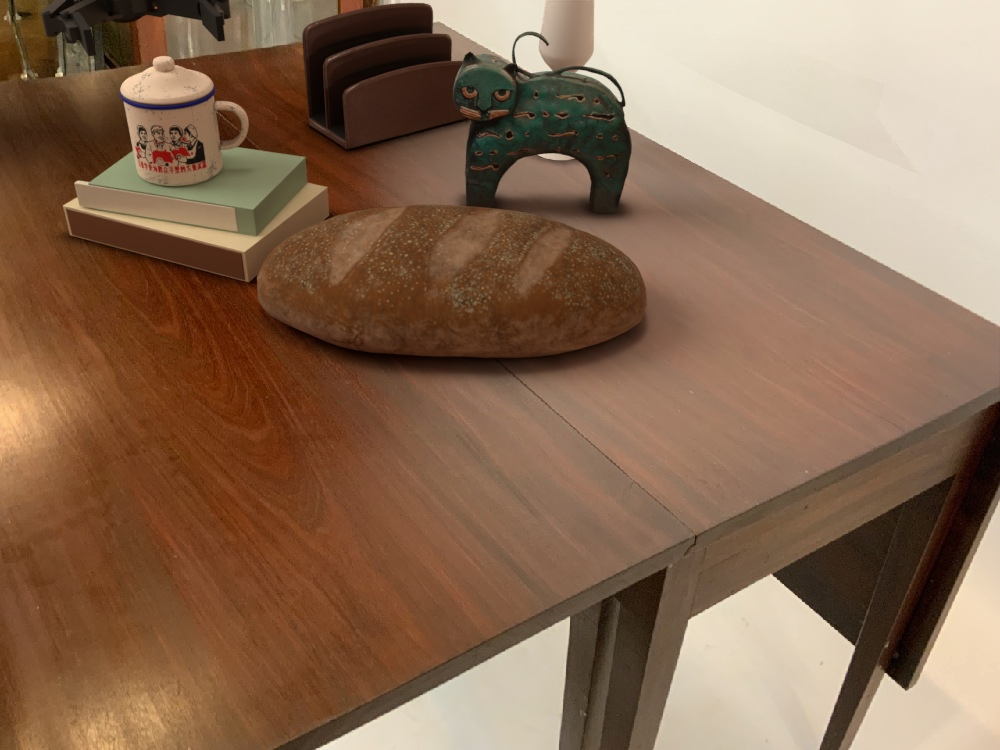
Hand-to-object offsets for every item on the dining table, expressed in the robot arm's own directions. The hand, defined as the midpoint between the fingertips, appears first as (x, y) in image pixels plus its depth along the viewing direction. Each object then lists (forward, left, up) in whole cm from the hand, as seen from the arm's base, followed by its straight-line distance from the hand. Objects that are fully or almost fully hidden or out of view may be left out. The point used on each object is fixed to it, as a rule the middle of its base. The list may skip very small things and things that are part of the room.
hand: (156, 35), depth 103 cm
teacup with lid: (+9, -8, -11) cm, 16 cm away
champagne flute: (+36, +29, -17) cm, 50 cm away
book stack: (+8, -8, -17) cm, 20 cm away
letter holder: (+13, +27, -17) cm, 35 cm away
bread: (+39, -11, -17) cm, 44 cm away
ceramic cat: (+39, +13, -17) cm, 45 cm away
